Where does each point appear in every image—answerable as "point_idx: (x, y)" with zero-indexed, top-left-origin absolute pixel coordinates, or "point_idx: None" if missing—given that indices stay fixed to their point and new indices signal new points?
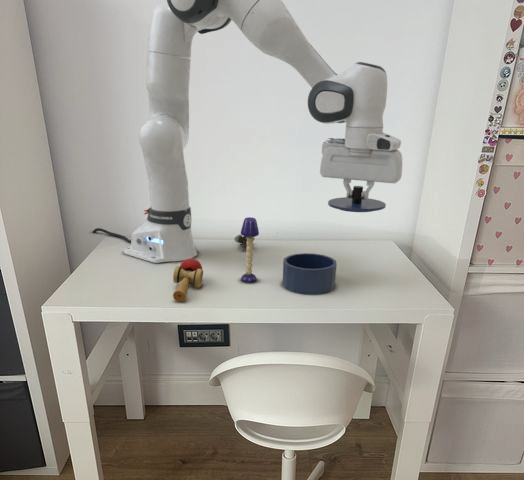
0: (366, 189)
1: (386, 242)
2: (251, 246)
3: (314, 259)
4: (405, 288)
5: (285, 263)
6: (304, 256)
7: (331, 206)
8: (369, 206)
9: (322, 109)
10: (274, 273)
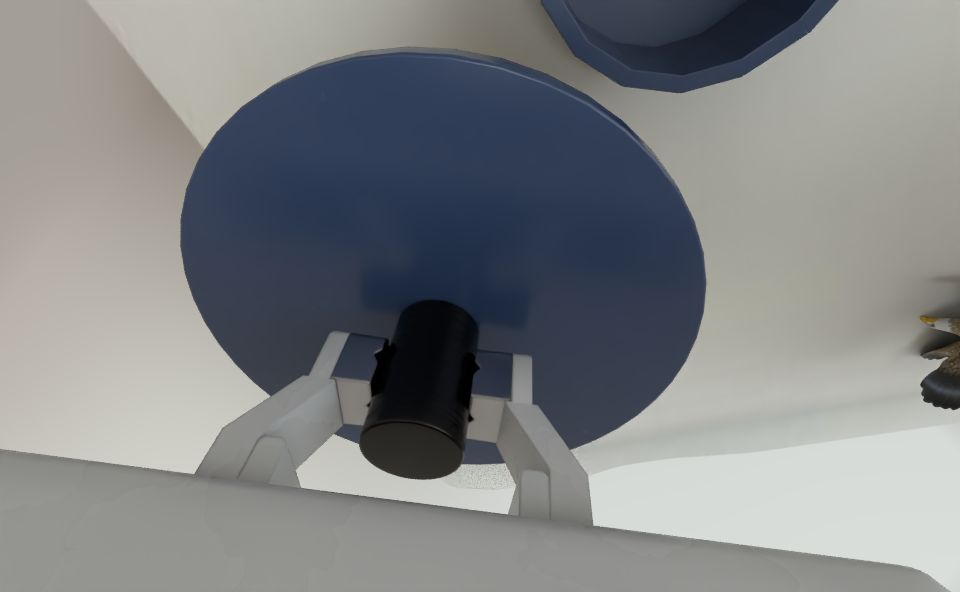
0: (303, 401)
1: None
2: None
3: (671, 67)
4: (245, 72)
5: None
6: (738, 53)
7: (665, 169)
8: (282, 235)
9: None
10: (863, 25)
